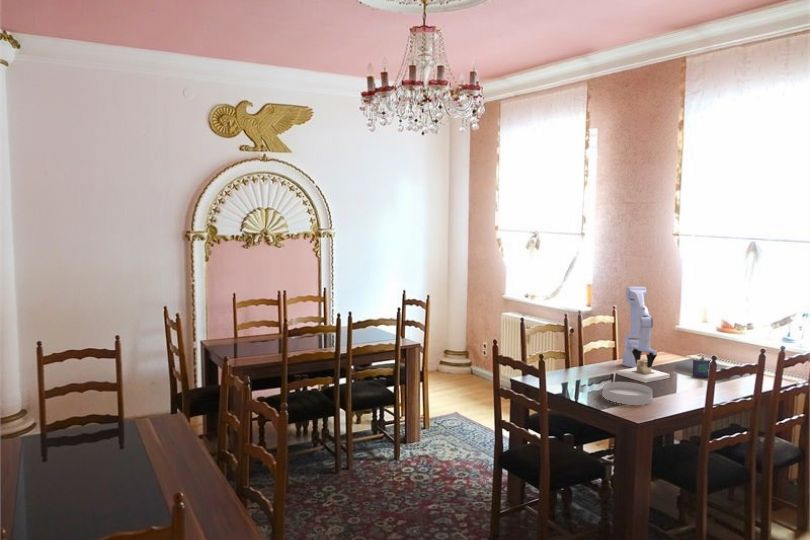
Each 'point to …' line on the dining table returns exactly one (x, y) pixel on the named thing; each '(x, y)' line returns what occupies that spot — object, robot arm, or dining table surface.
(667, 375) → the plinth
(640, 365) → the block
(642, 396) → the dish
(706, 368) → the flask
